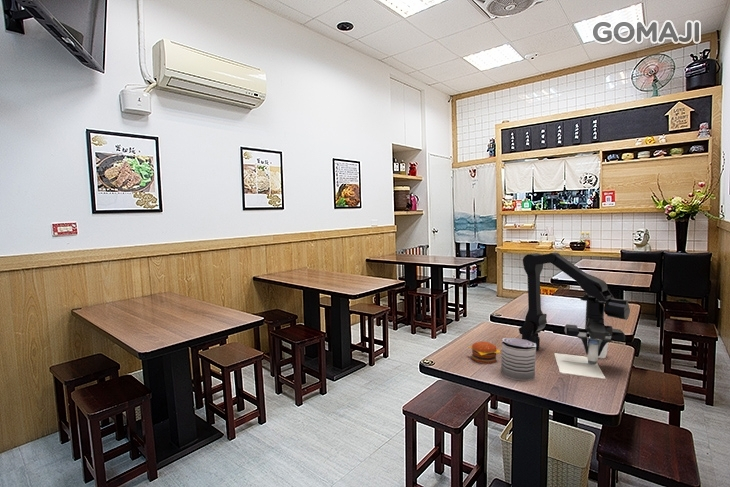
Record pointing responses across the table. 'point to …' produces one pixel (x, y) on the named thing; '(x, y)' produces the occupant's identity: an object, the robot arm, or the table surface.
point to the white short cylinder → (603, 351)
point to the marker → (592, 350)
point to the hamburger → (484, 352)
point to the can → (518, 359)
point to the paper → (577, 366)
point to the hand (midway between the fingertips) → (592, 355)
